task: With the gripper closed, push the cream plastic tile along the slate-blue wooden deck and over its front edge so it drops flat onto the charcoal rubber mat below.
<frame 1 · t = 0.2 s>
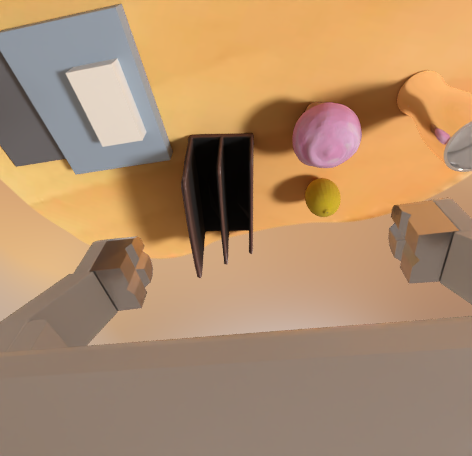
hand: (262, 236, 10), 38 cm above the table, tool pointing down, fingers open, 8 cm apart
cupcake: (317, 116, 47), on the table
tile: (112, 101, 43), point 2 cm above the table, touching deck
letter holder: (224, 184, 56), on the table
deck: (98, 98, 46), on the table
mat: (13, 114, 47), on the table
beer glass: (418, 92, 45), on the table
lemon: (317, 182, 55), on the table
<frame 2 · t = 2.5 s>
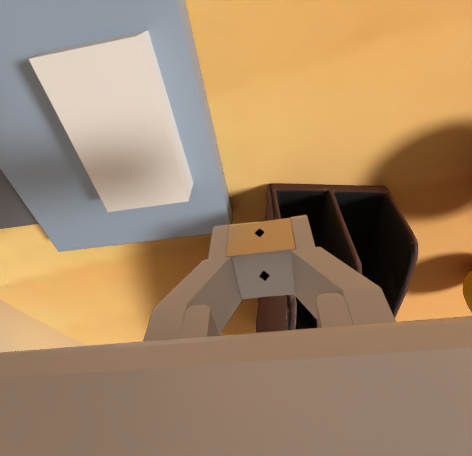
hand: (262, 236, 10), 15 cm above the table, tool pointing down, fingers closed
tile: (131, 124, 21), point 2 cm above the table, touching deck
letter holder: (308, 265, 33), on the table
deck: (103, 119, 24), on the table
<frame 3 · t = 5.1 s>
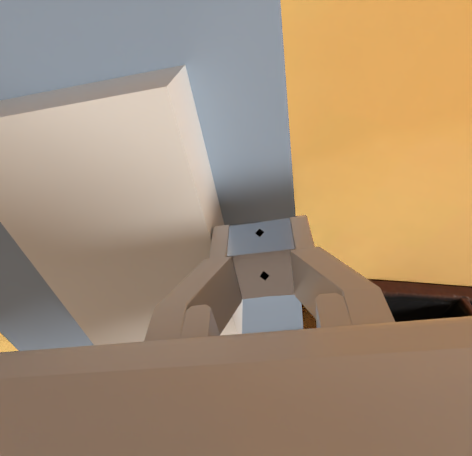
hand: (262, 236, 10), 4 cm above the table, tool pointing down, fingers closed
tile: (145, 220, 12), point 3 cm above the table, touching gripper
letter holder: (386, 372, 24), on the table
deck: (111, 194, 15), on the table
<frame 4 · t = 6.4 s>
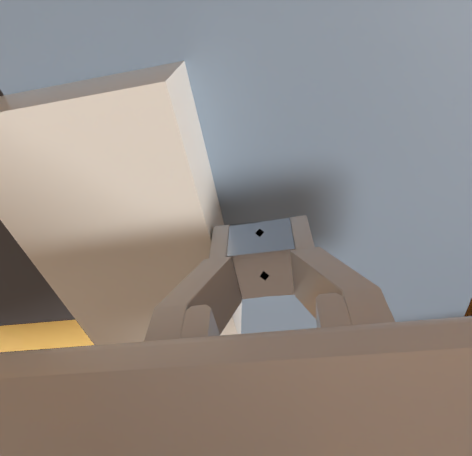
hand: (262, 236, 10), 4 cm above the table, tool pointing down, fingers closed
tile: (144, 217, 12), point 3 cm above the table, touching deck
deck: (276, 169, 14), on the table
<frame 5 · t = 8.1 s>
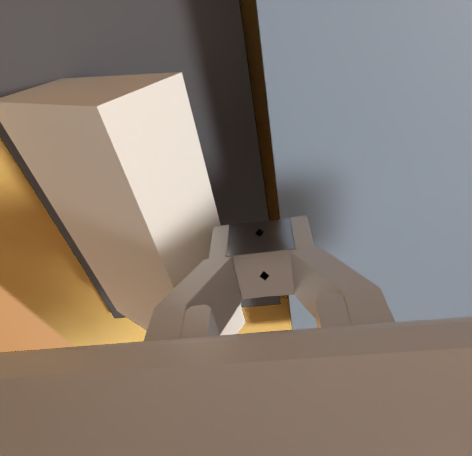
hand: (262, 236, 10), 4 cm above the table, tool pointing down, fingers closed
tile: (163, 212, 12), point 2 cm above the table, tilted 34°, touching mat
mat: (152, 189, 14), on the table
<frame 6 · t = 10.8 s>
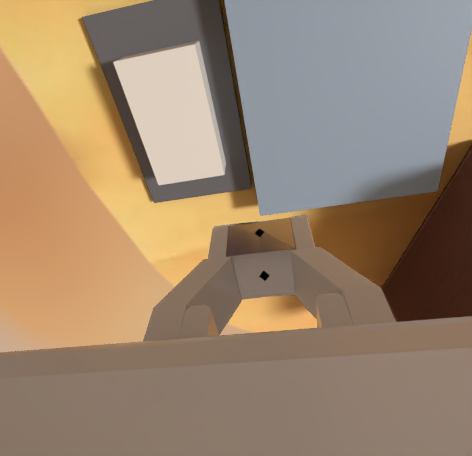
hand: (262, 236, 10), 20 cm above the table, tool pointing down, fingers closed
tile: (179, 114, 27), resting on mat
letter holder: (460, 231, 34), on the table
deck: (340, 84, 26), on the table
mat: (180, 113, 27), on the table
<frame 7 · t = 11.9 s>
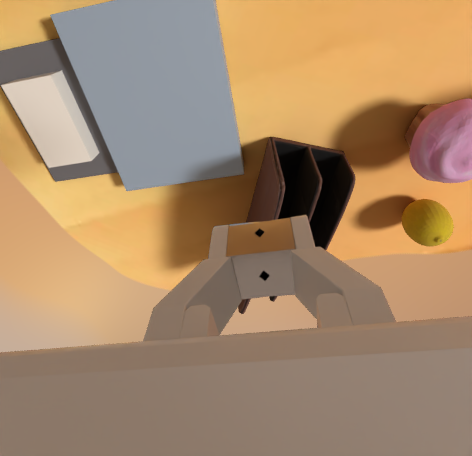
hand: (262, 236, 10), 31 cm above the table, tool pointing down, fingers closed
cupcake: (428, 122, 39), on the table
tile: (59, 118, 39), resting on mat
letter holder: (284, 205, 47), on the table
deck: (164, 99, 38), on the table
mat: (61, 117, 40), on the table
lemon: (413, 204, 46), on the table
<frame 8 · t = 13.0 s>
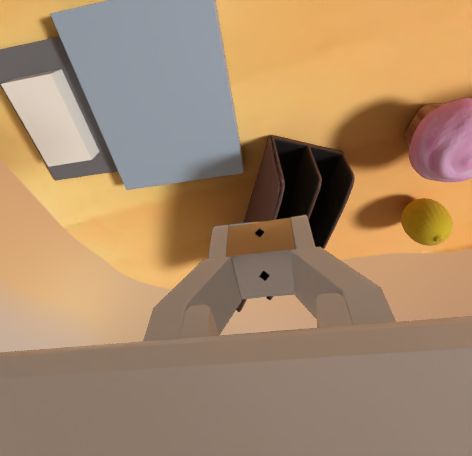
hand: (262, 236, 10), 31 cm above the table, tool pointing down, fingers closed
cupcake: (427, 121, 39), on the table
tile: (59, 117, 39), resting on mat
letter holder: (282, 204, 47), on the table
deck: (164, 98, 38), on the table
mat: (61, 116, 40), on the table
lemon: (412, 204, 46), on the table
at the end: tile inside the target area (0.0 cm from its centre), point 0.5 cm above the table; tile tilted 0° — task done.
